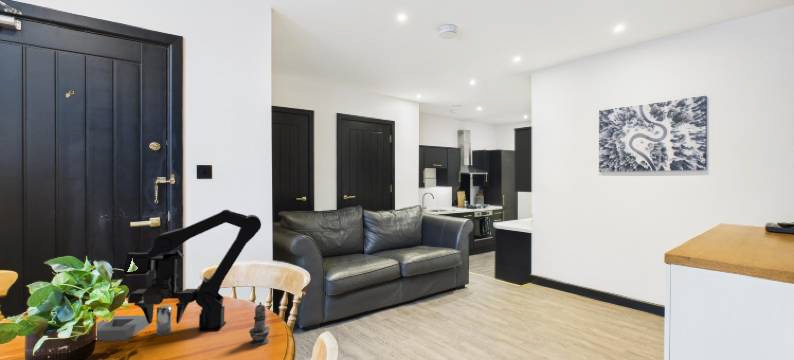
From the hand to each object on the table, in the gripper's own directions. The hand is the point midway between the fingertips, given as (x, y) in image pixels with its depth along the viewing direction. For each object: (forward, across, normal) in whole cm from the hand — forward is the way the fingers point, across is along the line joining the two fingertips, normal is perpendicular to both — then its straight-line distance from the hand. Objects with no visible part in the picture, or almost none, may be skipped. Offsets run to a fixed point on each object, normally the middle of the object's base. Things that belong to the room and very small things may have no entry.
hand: (164, 323), depth 114 cm
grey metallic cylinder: (+3, 0, 0) cm, 3 cm away
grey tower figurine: (+3, +31, -8) cm, 32 cm away
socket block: (+3, -14, +1) cm, 14 cm away
